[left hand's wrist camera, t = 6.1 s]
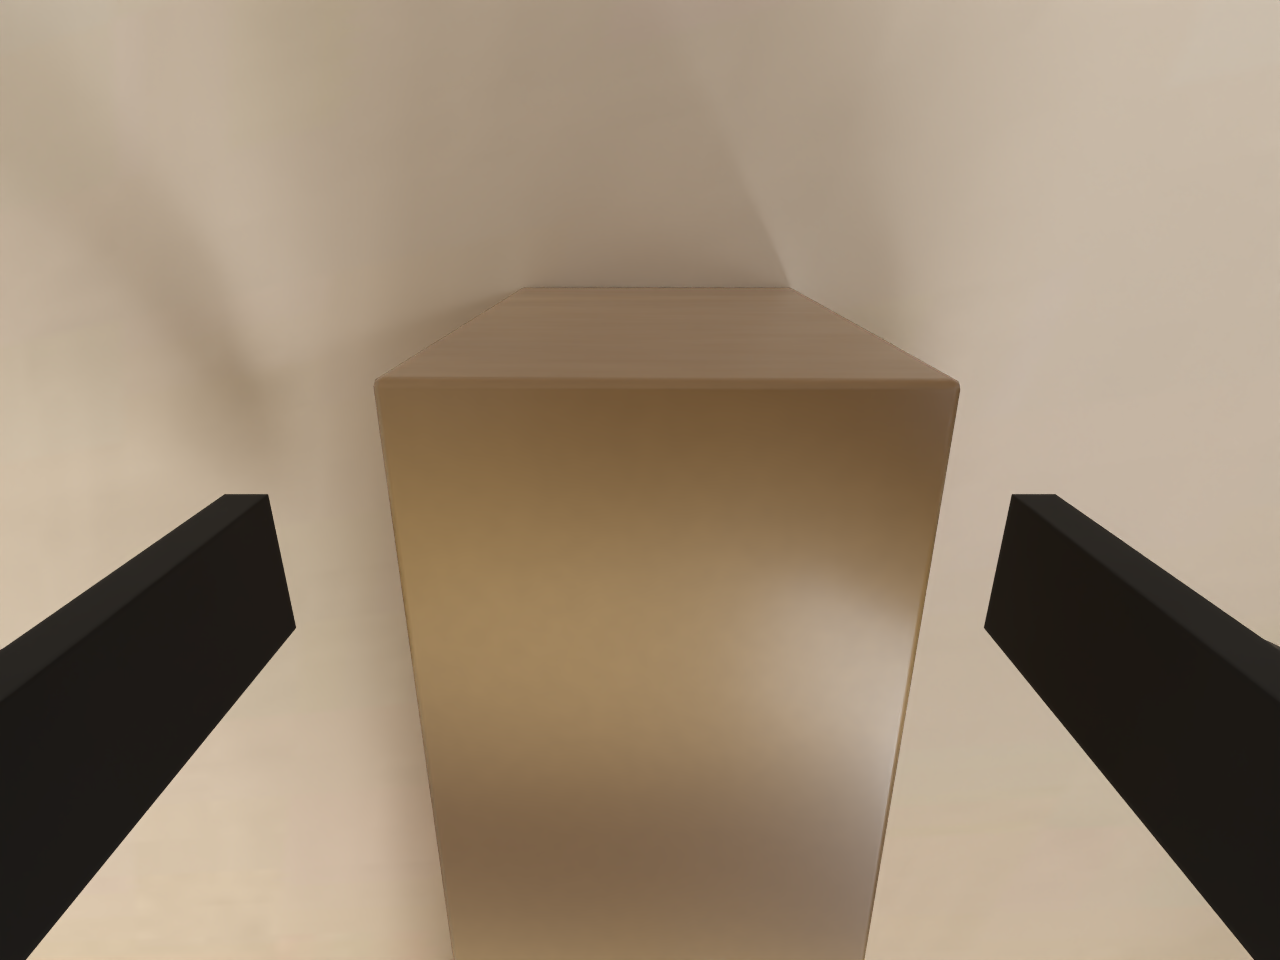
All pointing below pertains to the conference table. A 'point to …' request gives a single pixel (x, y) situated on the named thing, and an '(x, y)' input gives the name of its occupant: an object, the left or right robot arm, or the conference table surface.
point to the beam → (663, 615)
